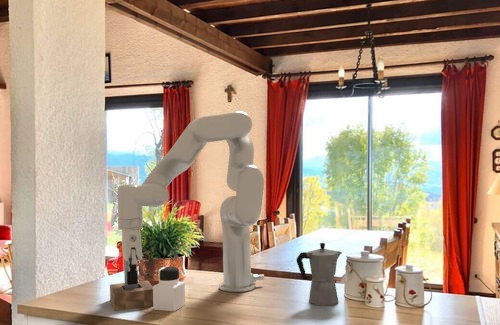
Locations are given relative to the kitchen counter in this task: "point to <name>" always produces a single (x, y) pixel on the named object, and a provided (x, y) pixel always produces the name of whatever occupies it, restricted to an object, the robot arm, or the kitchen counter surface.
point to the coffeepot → (321, 275)
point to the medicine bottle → (168, 290)
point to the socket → (131, 296)
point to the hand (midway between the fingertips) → (131, 281)
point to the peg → (132, 286)
